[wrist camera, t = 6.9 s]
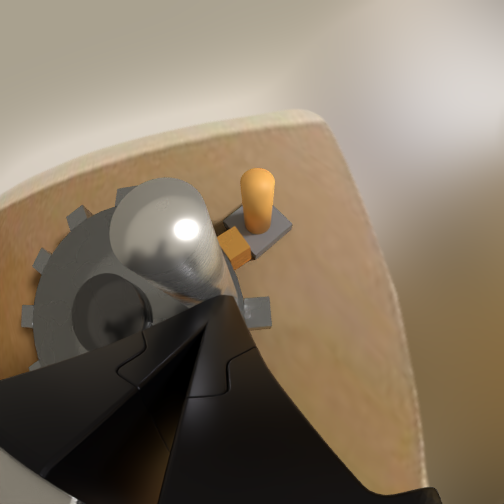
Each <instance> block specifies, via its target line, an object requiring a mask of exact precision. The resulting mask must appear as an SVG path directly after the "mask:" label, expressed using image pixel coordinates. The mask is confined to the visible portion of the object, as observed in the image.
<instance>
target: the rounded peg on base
mask: <svg viewBox="0 0 504 504" xmlns="http://www.w3.org/2000/svg"><path fill="white" fill-rule="evenodd" d="M240 184H241V194H242V203H243V205H242V206H241V207H240V208H239V209H237V210H236V211H235V212H234V213H232V214H231V215H230V216H228V217H227V218H226V219H225V220H223V222H224V226H225V227H226V228H227V229H228V230H229V229H231V228H232V227H234V226H235V227H236V228H237V229H238V231H239V232H240V233H241V235H242V236H243V238H244V239H245V240H246V242H247V243H248V244H249V246H250V248H251V255H252V256H253V257H254V258H255V259H257V258H258V257H259V256H261V255H262V254H263V253H264V252H265V251H266V250H268V249H269V248H270V247H271V246H272V245H273V244H275V243H276V242H277V241H278V240H279V239H280V238H282V237H283V236H284V235H285V234H286V233H287V232H289V231H290V230H291V228H292V223H291V222H290V221H289V220H288V219H287V218H286V217H285V216H284V215H283V214H282V213H281V212H280V211H278V210H277V209H276V208H275V207H274V206H273V195H274V184H275V181H274V177H273V175H272V174H271V173H270V172H269V171H267V170H265V169H261V168H254V169H250V170H248V171H246V172H245V173H244V174H243V175H242V177H241V181H240Z"/></svg>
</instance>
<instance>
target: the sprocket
mask: <svg viewBox="0 0 504 504" xmlns="http://www.w3.org/2000/svg"><path fill="white" fill-rule="evenodd" d="M66 218H67V221H68V225H69V228H70V231H71V232H70V233H69V234H68V235H67V236H66V237H65V238H64V239H63V240H62V241H61V243H60V244H59V245H58V247H57V248H56V249H55V251H54V252H53V254H52V253H50V252H49V251H47V250H45V249H44V248H41V250H40V252H39V254H38V256H37V258H36V260H35V262H34V264H33V267H34V268H35V269H36V270H37V271H38V272H39V273H40V274H42V276H41V278H40V281H39V285H38V288H37V292H36V297H35V302H34V305H22V322H21V327H25V328H30V329H33V332H34V340H35V346H36V351H37V355H38V358H39V360H38V361H37V362H35V363H34V364H33V365H31V366H30V367H29V370H30V371H32V370H35V369H39V368H42V367H45V366H48V365H51V364H54V363H57V362H60V361H63V360H66V359H69V358H72V357H75V356H78V355H81V354H84V353H87V352H90V351H93V350H95V349H98V348H101V347H104V346H106V345H109V344H112V343H114V342H117V341H119V340H121V339H124V338H126V337H128V336H131V335H133V334H135V333H137V332H139V331H141V332H142V331H143V330H145V329H147V328H149V327H151V326H153V325H155V324H157V323H159V322H162V321H164V320H166V319H168V318H170V317H172V316H174V315H176V314H178V313H181V312H183V311H185V310H187V309H189V308H191V307H193V306H195V305H197V304H199V303H201V302H203V301H205V300H207V299H210V298H213V297H216V296H218V295H231V296H233V297H234V299H235V301H236V303H237V305H238V307H239V310H240V312H241V314H242V316H243V318H244V321H245V323H246V325H247V327H248V329H249V330H261V329H270V328H271V326H272V321H271V311H270V300H269V297H257V298H245V299H244V300H243V296H242V293H241V289H240V286H239V282H238V279H237V276H236V274H235V272H234V270H236V269H237V268H239V267H240V266H242V265H243V264H245V263H246V262H248V261H249V260H251V248H250V246H249V244H248V243H247V242H246V240H245V239H244V238H243V236H242V235H241V233H240V232H239V231H238V229H237V228H236V227H235V226H234V227H232V228H231V229H229V230H227V231H226V232H224V233H223V234H221V235H220V236H218V237H217V236H216V233H215V230H214V228H213V225H212V222H211V219H210V216H209V213H208V210H207V207H206V205H205V202H204V200H203V198H202V196H201V194H200V193H199V192H198V191H197V189H195V188H194V187H193V186H192V185H190V184H189V183H187V182H185V181H183V180H180V179H176V178H157V179H152V180H149V181H147V182H144V183H142V184H140V185H139V186H132V187H126V188H120V189H117V196H116V202H115V207H112V208H110V209H107V210H104V211H101V212H99V213H97V214H95V215H93V214H92V213H91V212H90V211H89V210H87V209H86V208H85V207H84V206H83V205H81V206H80V207H79V208H77V209H76V210H75V211H74V212H72V213H71V214H70V215H69V216H67V217H66Z"/></svg>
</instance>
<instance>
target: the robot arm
mask: <svg viewBox="0 0 504 504" xmlns="http://www.w3.org/2000/svg"><path fill="white" fill-rule="evenodd" d="M0 504H442V502H441V498H440V496H439V493H438V491H437V490H436V489H435V488H433V487H425V488H419V489H415V490H411V491H407V492H403V493H398V494H393V495H382V494H377V493H374V492H372V491H370V490H368V489H367V488H366V487H365V486H363V485H362V483H361V482H360V481H359V480H358V479H357V478H356V477H355V476H354V475H353V473H352V472H351V471H350V470H349V469H348V468H347V467H346V465H345V464H344V463H343V462H342V461H341V460H340V459H339V457H338V456H337V455H336V454H335V453H334V451H333V450H332V449H331V448H330V447H329V446H328V444H327V443H326V442H325V441H324V440H323V438H322V437H321V436H320V435H319V434H318V432H317V431H316V430H315V429H314V427H313V426H312V425H311V424H310V422H309V421H308V420H307V419H306V417H305V416H304V415H303V414H302V412H301V411H300V410H299V409H298V407H297V406H296V405H295V404H294V402H293V401H292V400H291V398H290V397H289V396H288V395H287V393H286V392H285V391H284V389H283V388H282V387H281V386H280V384H279V383H278V382H277V380H276V379H275V377H274V376H273V374H272V373H271V372H270V370H269V369H268V367H267V365H266V363H265V362H264V360H263V358H262V356H261V354H260V352H259V350H258V348H257V346H256V344H255V342H254V340H253V338H252V336H251V334H250V331H249V329H248V327H247V325H246V323H245V321H244V318H243V316H242V314H241V312H240V310H239V307H238V305H237V303H236V301H235V299H234V297H233V296H231V295H218V296H216V297H213V298H210V299H207V300H205V301H203V302H201V303H199V304H197V305H195V306H193V307H191V308H189V309H187V310H185V311H183V312H181V313H178V314H176V315H174V316H172V317H170V318H168V319H166V320H164V321H162V322H159V323H157V324H155V325H153V326H151V327H149V328H147V329H145V330H143V331H142V332H141V331H139V332H137V333H135V334H133V335H131V336H128V337H126V338H124V339H121V340H119V341H117V342H114V343H112V344H109V345H106V346H104V347H101V348H98V349H95V350H93V351H90V352H87V353H84V354H81V355H78V356H75V357H72V358H69V359H66V360H63V361H60V362H57V363H54V364H51V365H48V366H45V367H42V368H39V369H35V370H32V371H29V372H26V373H23V374H19V375H16V376H13V377H10V378H6V379H3V380H0Z"/></svg>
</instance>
